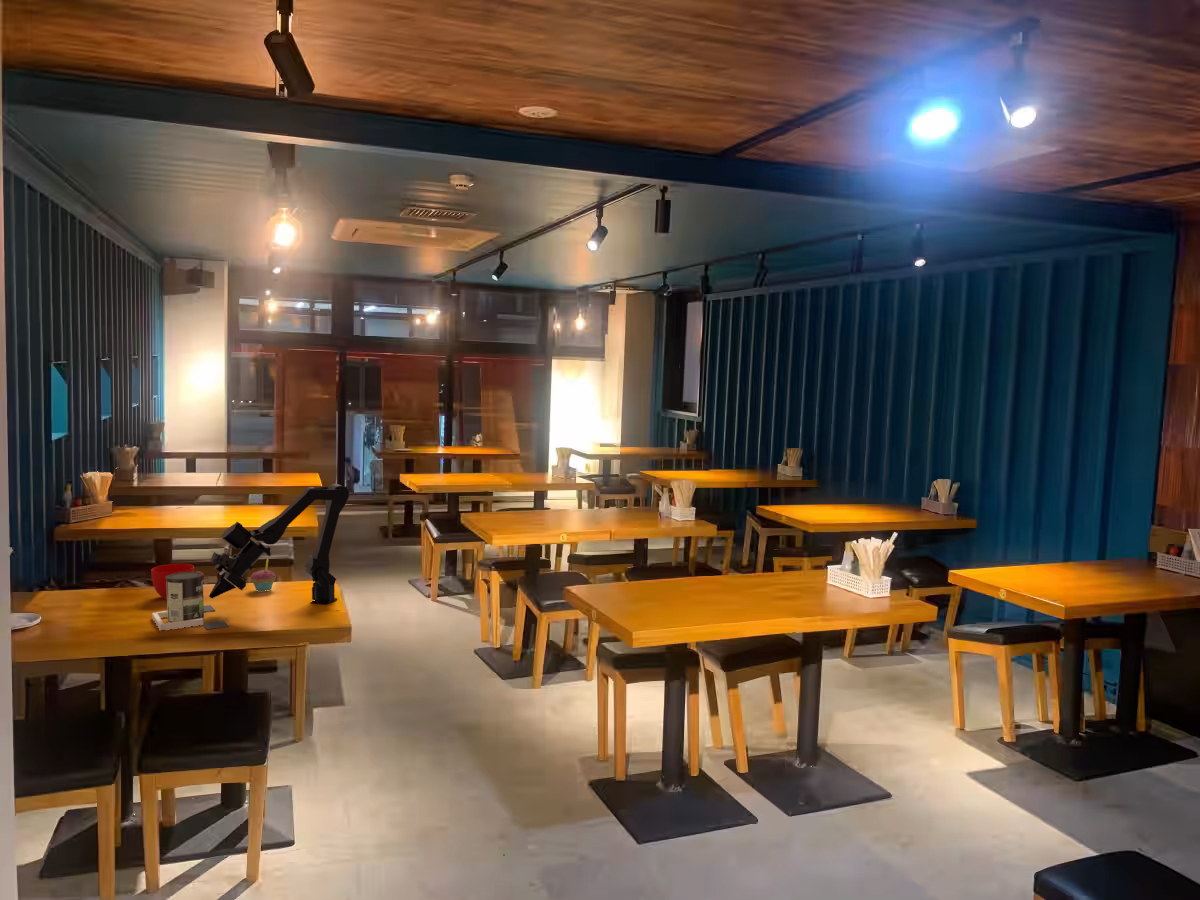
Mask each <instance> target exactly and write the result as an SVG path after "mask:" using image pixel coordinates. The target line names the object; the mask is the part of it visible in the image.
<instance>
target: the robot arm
mask: <svg viewBox="0 0 1200 900" xmlns="http://www.w3.org/2000/svg"><path fill="white" fill-rule="evenodd" d="M349 498H350V491H349V489H348V488H347V487H346V486H344V485H341V484H338V483H332V484H330V485H329V486H315V487H313V486H308V487H306V488H305V489H304V491H303V492H302V493H301V494H300V495H299V496H298V497H296V498H295V499H294V500H293V501H292V502H291V503H290V504H289V505H288V506H287V507H286V508H285V509H284V510H283V511H282V512H281V513H280V514H278V515H277V516H275V517H274V518H272V519H269V520H268V521H266V522H265V523H263V524H262V525H261V526H260V527H259V528H255V529H251V530H248V529H246V528H245V527H244V526H243V525H242V524H241V522H239V521H236V522H235V523H234V524H232V525H230V526H229V527H227V528H226V529H225V530H224V531H223V533H222V534H221V536H220V537H221V539H222V540H224V541H225V542H226V543H227V544H228V545H230V546H231V547H232V548H233V549H234V550H238V549H239V550H240V551H239V552H238V554H237V553H234V554H233V555H232V556H230V554H229V553H224V552H223V553H221V552H219V551H213V554H212V555H211V558H210V560H209V561H210V562H211V564H214V565H215V566H214V567H213V568H214V569H215V570H216V571H217V572H216V577H217V580H216V582H215V584H214V586H213V588H212V590H211V591H210V593H209V595H208V597H209V598H210V599H215V598H216V597H219V596H220V595H222V594H224V593H227V592H229V591H232V590H233V589H236V588H238V589H239V590H240V591H243V590H244V589H245V588H246V587H247V582H246V581H245V579H244V577H243V576H245V574H246V573H247V572H248V571H249V570H250V571H251V570H253V568H254V567H253V565H254V564H256V562H257V561H258V560H259V559H260V558H261V557H262V556H263V555H264V554H266V556H267V557H271V556H272V553H271V547H270V546H272V545H275V544H277V543H278V542H279V540H281V537H282V536H283V535H284V534H285V532H286V530H287V528H288V527H289V525H291V524H292V523H293V521H295V520H296V518H298V517H299V515H301V514H302V513H303V512H304V511H305V510H306V509H307V508H308V507H310V505H312V503H314V501H316V500H318V501H325V513H324V517H323V521H322V525H321V529H320V532H319V536H318V539H317V543H316V548H315V551H314V552H313V554H312V555H307V557H306V563H305V565H303V567H304V568H305V572H306V574H307V576H308V577H310V578H311V580H312V582H313V583H312V587H311V599H312V600H315V601H312V602H318V603H317V604H320V603H325V604H324V605H327V604H326V603H328V604H330V603H329V602H331V603H333V602H335V601H337V600H338V598H337V597H335V595H336V594H335V585H336V581H337V578H336V577H335V576H333V575H332V574H331V572H330V566H331V562H330V552H331V549H332V544H333V542H334V537H335V532H336V528H337V525H338V521H339V517H340V514H341V512H342V510H343V509H344V507H345V506H346V504H347V502H348V500H349ZM251 538H252V539H254V540H255V541H256V542H255V541H254V540H252V539H251ZM263 543H264V544H265V545H268V546H265V545H264V544H263ZM269 545H270V546H269ZM334 600H335V601H334ZM332 601H333V602H332Z"/></svg>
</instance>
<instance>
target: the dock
mask: <svg viewBox="0 0 1200 900" xmlns="http://www.w3.org/2000/svg"><path fill="white" fill-rule="evenodd" d="M151 615H152V616H151V618H153V619H152V620H153V622H154V621H155V622H154V623H156V624H155V625H156V627H157V626H158V627H157V628H159V629H158V630H159V631H160V630H165V631H168V630H169V631H170V629H172V630H176V629H178V628H179V629H185V628H184V627H186V628H191V626H193V627H200V626H204V625H203V623H204V620H203V618H200V619H193V620H185V621H178V622H171V623H168V622H165V623H164V621H163V620H162V619H164V618H163V617H167V618H168V612H167V610H162V611H155V612H152V613H151ZM199 625H200V626H199Z"/></svg>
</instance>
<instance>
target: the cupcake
mask: <svg viewBox="0 0 1200 900" xmlns="http://www.w3.org/2000/svg"><path fill="white" fill-rule="evenodd" d="M268 566H269V558H267V559H266V561H265V569H264V570H263V569H261V570H257V571H254V572H253V573H252V574H251V575H250V578H249V581H250V583H252V584H253V586H254V587H255V591H256V590H258V591H265V590H270V589H271V590H272V588H273V587H272V586H273V584H274V583H275V581H276V580H277V574H275V572H273V571H271V570H269V569H268ZM271 590H270V591H271Z"/></svg>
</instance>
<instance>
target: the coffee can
mask: <svg viewBox="0 0 1200 900" xmlns="http://www.w3.org/2000/svg"><path fill="white" fill-rule="evenodd" d="M200 572H201V571H200ZM200 572H197V571H194V572H180V573H174V574H170V575H168V576H166V584H167V599H166V603H167V604H166V606H167V608H166V609H167V610H166V611H167V612H168V617H167V623H171V622H178V621H185V620H193V619H200V618H203V621H204V620H205V612H204V606H205V605H204V580H203V574H204V572H202V573H200Z"/></svg>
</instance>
